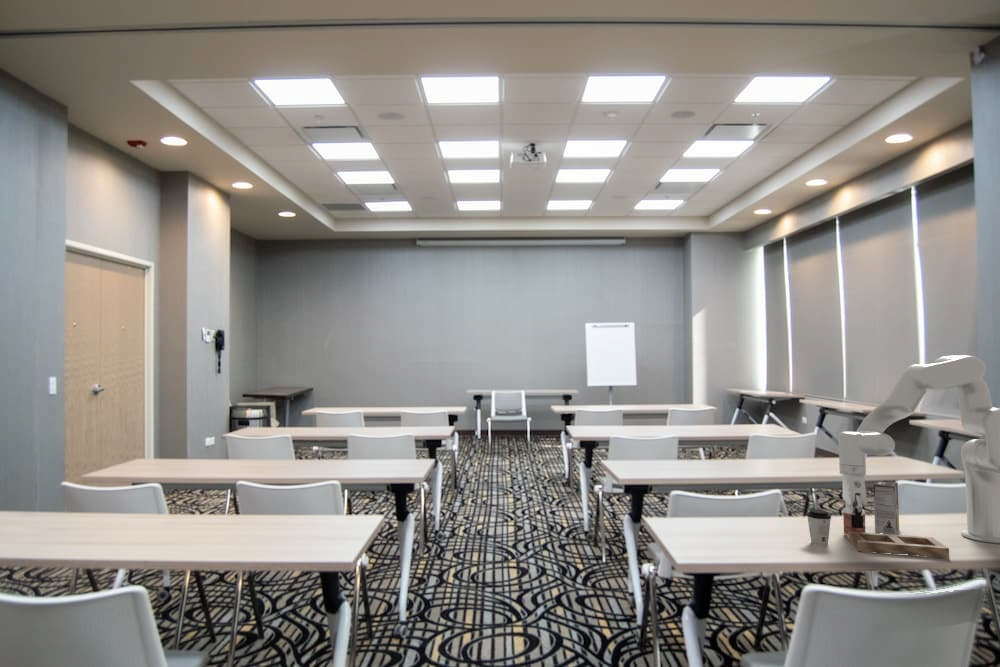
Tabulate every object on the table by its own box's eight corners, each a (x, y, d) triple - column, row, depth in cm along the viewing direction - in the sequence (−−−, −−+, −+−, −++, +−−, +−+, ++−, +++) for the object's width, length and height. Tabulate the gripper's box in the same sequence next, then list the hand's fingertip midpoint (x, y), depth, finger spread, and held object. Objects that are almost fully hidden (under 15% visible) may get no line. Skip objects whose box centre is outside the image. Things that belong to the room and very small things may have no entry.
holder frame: (932, 547, 185) (932, 537, 185) (949, 559, 173) (949, 548, 173) (848, 540, 191) (848, 531, 191) (859, 552, 180) (859, 541, 180)
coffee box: (877, 527, 208) (876, 480, 209) (899, 530, 204) (898, 482, 205) (874, 533, 200) (873, 484, 201) (897, 536, 197) (895, 486, 197)
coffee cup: (831, 548, 183) (830, 515, 184) (806, 544, 187) (805, 512, 188) (832, 542, 189) (831, 510, 190) (808, 539, 193) (807, 507, 193)
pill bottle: (859, 539, 193) (858, 504, 193) (839, 535, 198) (838, 500, 198) (869, 536, 196) (868, 502, 196) (850, 532, 201) (849, 498, 202)
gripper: (873, 474, 189) (875, 533, 188) (857, 466, 205) (859, 519, 204) (846, 473, 191) (848, 531, 190) (833, 465, 207) (834, 517, 206)
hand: (854, 524), depth 197 cm, fingers closed on pill bottle, 6 cm apart
